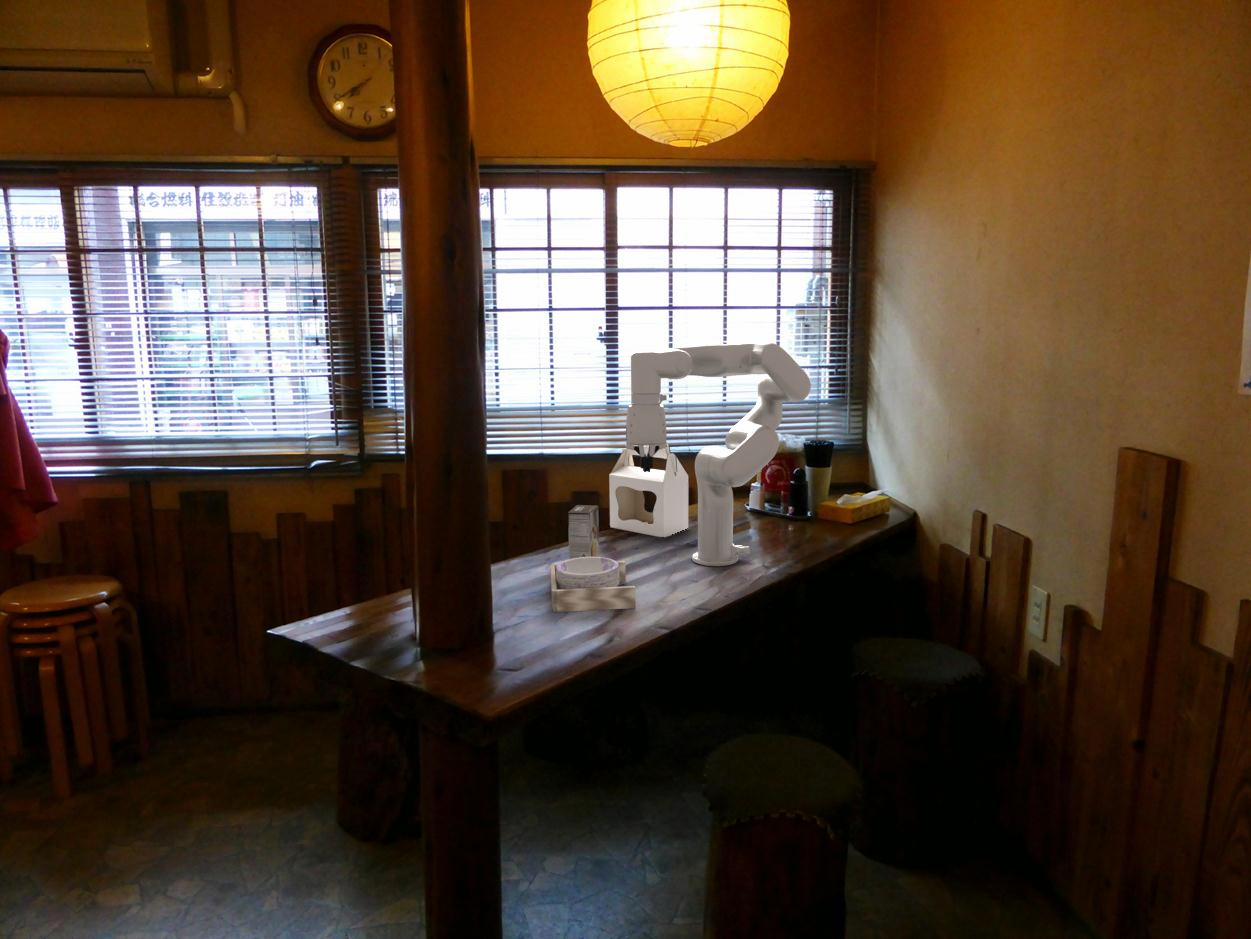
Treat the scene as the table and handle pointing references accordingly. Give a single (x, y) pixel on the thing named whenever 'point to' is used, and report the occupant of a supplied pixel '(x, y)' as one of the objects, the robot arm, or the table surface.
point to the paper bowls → (587, 573)
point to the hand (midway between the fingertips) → (646, 471)
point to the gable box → (664, 483)
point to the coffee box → (583, 531)
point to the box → (592, 595)
